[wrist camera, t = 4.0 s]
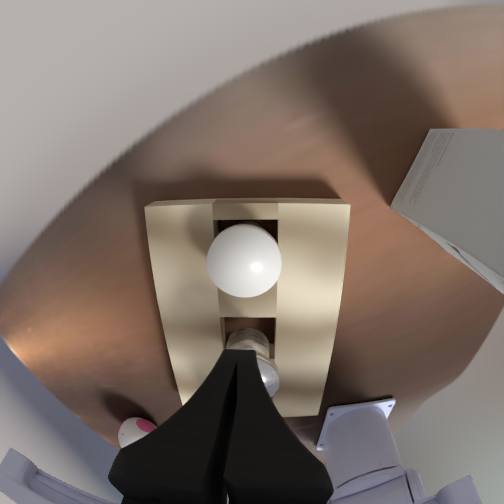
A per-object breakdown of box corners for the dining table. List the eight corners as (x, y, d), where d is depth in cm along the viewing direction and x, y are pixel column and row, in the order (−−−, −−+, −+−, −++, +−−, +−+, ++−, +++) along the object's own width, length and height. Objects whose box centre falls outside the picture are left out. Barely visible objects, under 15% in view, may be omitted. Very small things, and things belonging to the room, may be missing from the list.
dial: (276, 365, 20) (278, 407, 16) (221, 364, 21) (214, 405, 17) (278, 320, 19) (281, 362, 15) (217, 320, 19) (206, 361, 15)
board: (315, 400, 25) (317, 415, 24) (188, 398, 26) (185, 412, 24) (341, 199, 19) (350, 204, 17) (155, 201, 19) (144, 206, 17)
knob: (277, 270, 20) (280, 297, 16) (218, 269, 20) (209, 297, 17) (278, 211, 19) (282, 227, 15) (215, 212, 19) (204, 228, 15)
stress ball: (136, 388, 31) (94, 410, 25) (177, 423, 26) (131, 453, 21) (147, 422, 33) (112, 443, 28) (185, 455, 28) (148, 481, 23)
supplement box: (385, 207, 19) (508, 284, 7) (429, 126, 16) (565, 129, 4) (444, 253, 20) (545, 336, 8) (482, 181, 17) (595, 223, 5)
